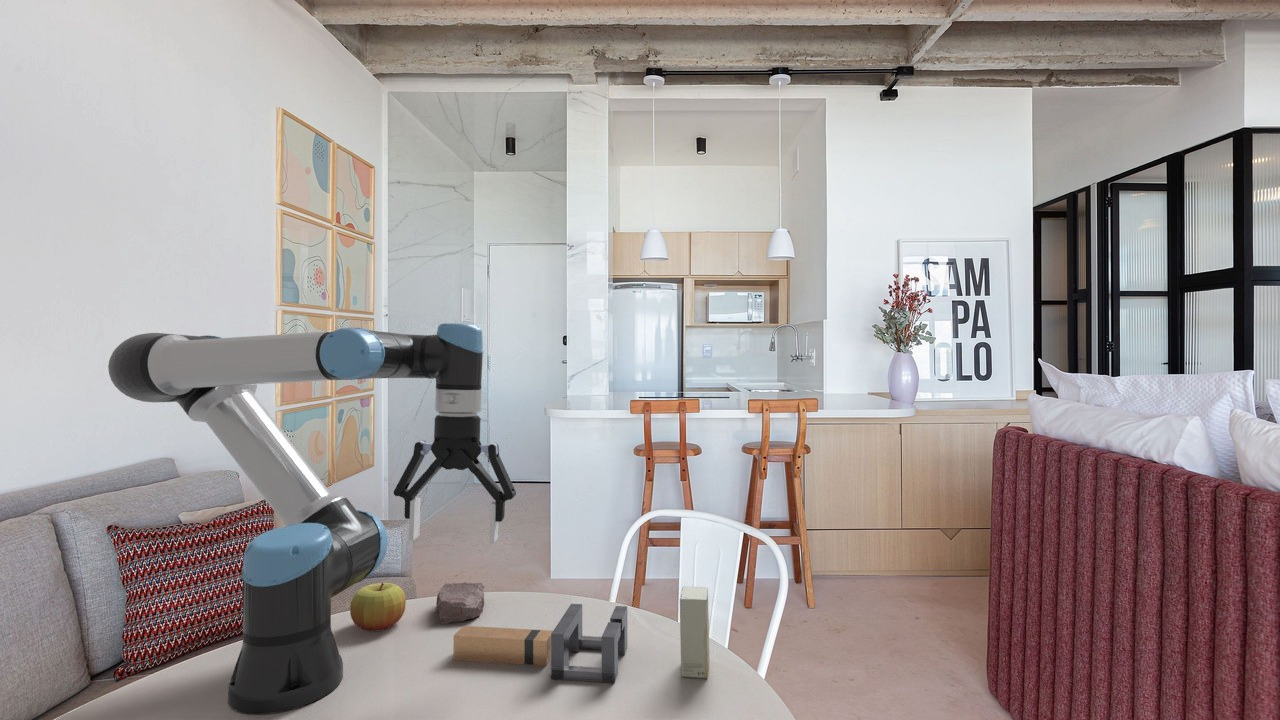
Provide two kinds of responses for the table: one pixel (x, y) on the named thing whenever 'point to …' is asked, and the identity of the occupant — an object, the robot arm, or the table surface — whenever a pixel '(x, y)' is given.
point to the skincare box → (694, 632)
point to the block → (503, 645)
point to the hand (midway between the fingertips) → (453, 539)
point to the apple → (377, 606)
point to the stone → (459, 602)
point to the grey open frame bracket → (588, 646)
